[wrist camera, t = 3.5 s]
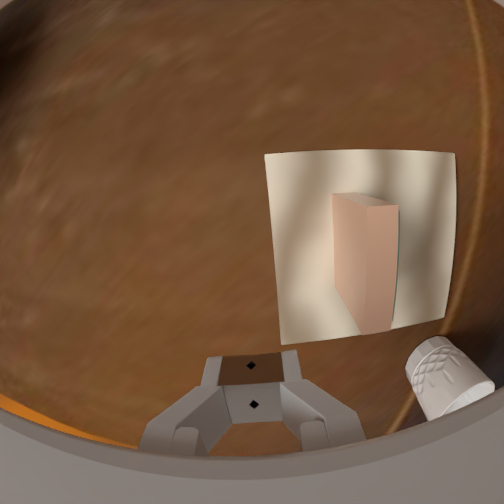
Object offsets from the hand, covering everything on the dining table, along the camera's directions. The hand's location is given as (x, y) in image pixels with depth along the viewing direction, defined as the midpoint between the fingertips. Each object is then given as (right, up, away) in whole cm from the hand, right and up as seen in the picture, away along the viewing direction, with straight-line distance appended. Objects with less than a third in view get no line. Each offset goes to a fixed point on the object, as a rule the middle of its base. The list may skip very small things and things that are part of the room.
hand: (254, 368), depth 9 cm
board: (+11, +5, +15) cm, 19 cm away
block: (+8, +5, +14) cm, 16 cm away
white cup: (+21, -9, +19) cm, 30 cm away
